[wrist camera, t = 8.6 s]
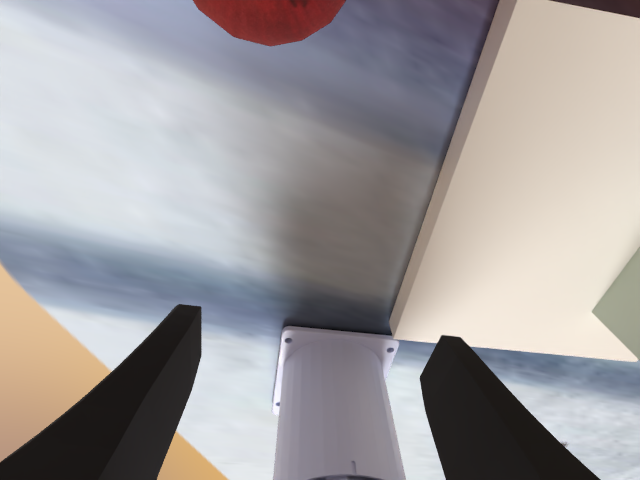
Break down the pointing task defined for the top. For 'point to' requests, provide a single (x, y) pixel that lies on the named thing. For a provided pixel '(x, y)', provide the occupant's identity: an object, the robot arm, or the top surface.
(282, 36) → the onion
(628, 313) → the door leaf
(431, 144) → the top surface
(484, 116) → the board
